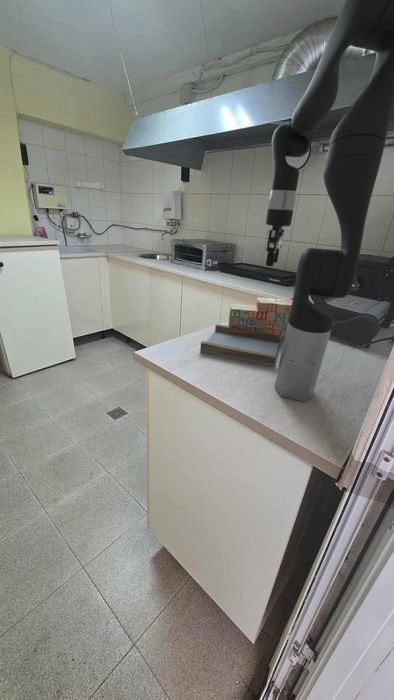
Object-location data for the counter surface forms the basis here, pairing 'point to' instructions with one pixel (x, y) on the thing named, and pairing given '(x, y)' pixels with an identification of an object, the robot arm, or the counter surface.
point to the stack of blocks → (262, 316)
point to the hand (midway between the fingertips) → (271, 264)
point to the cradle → (242, 345)
